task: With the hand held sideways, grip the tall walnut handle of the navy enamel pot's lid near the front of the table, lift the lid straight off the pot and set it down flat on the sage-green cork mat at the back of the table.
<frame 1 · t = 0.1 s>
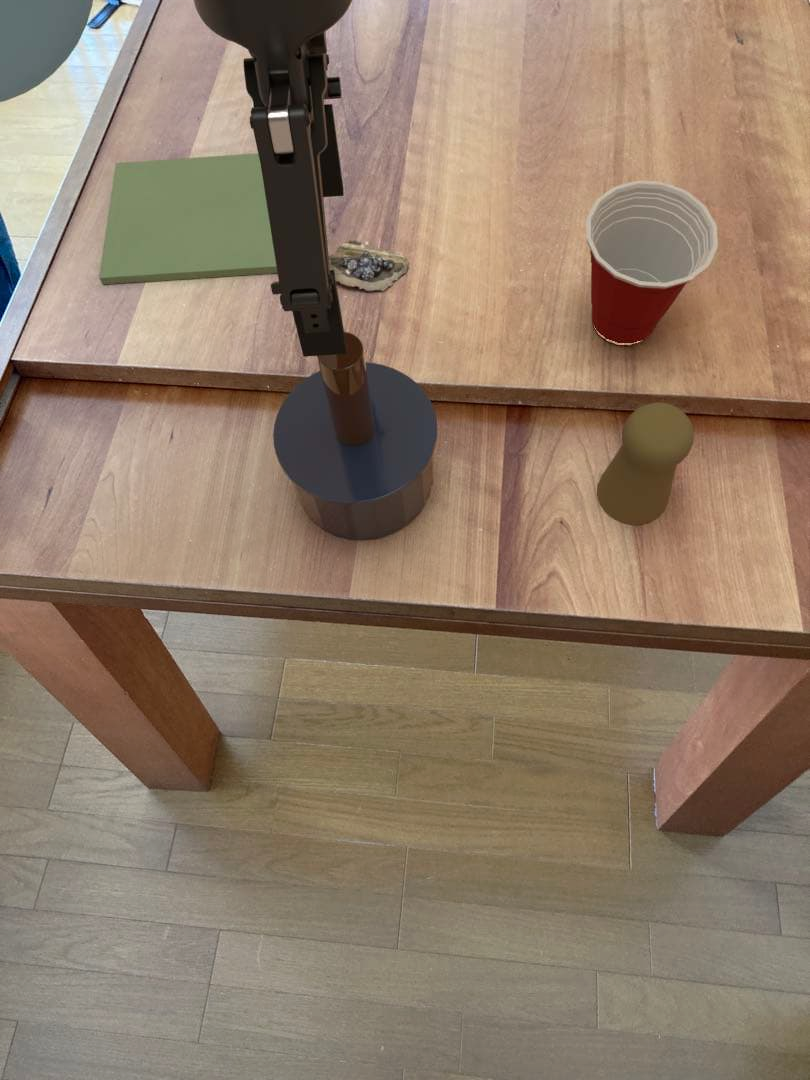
hand: (324, 268, 54), 21 cm above the table, tool pointing down, fingers open, 13 cm apart
plastic cup: (623, 325, 78), on the table
pepper shaker: (631, 494, 70), on the table
lid: (355, 433, 65), point 7 cm above the table, touching pot
pot: (364, 478, 72), on the table
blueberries: (369, 268, 82), on the table
mat: (196, 219, 86), on the table
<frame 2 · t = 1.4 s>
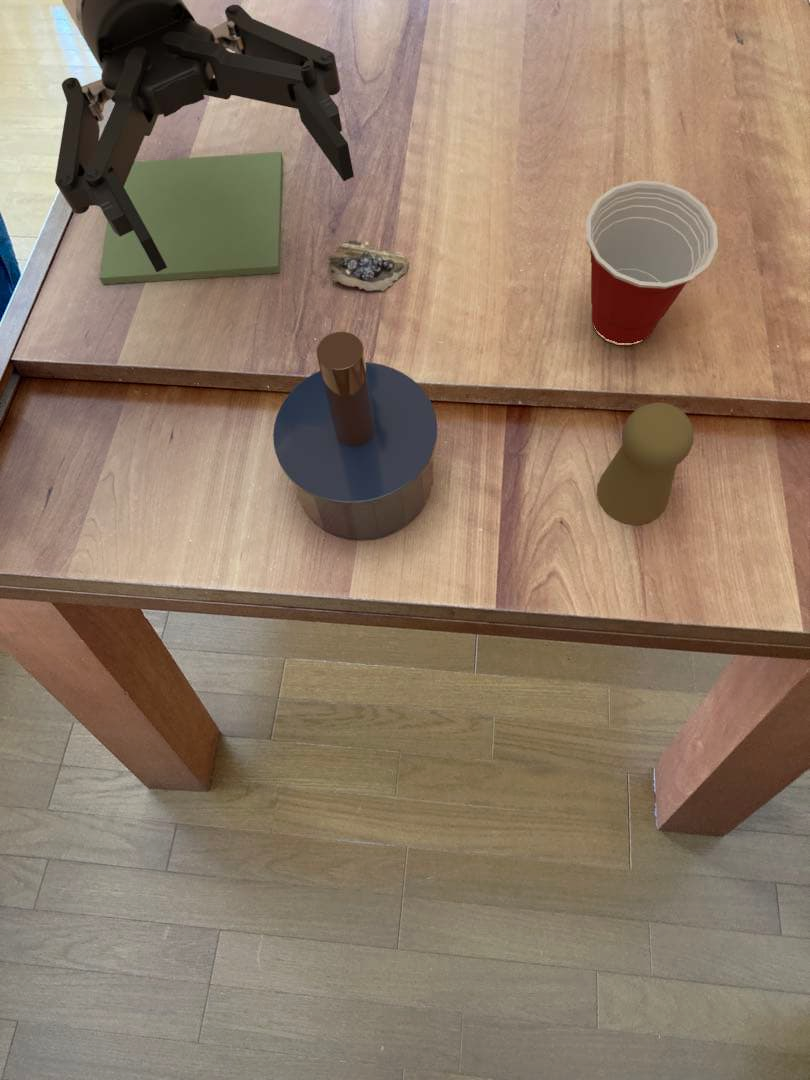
hand: (251, 208, 52), 25 cm above the table, tool horizontal, fingers open, 13 cm apart
nothing on the table moved.
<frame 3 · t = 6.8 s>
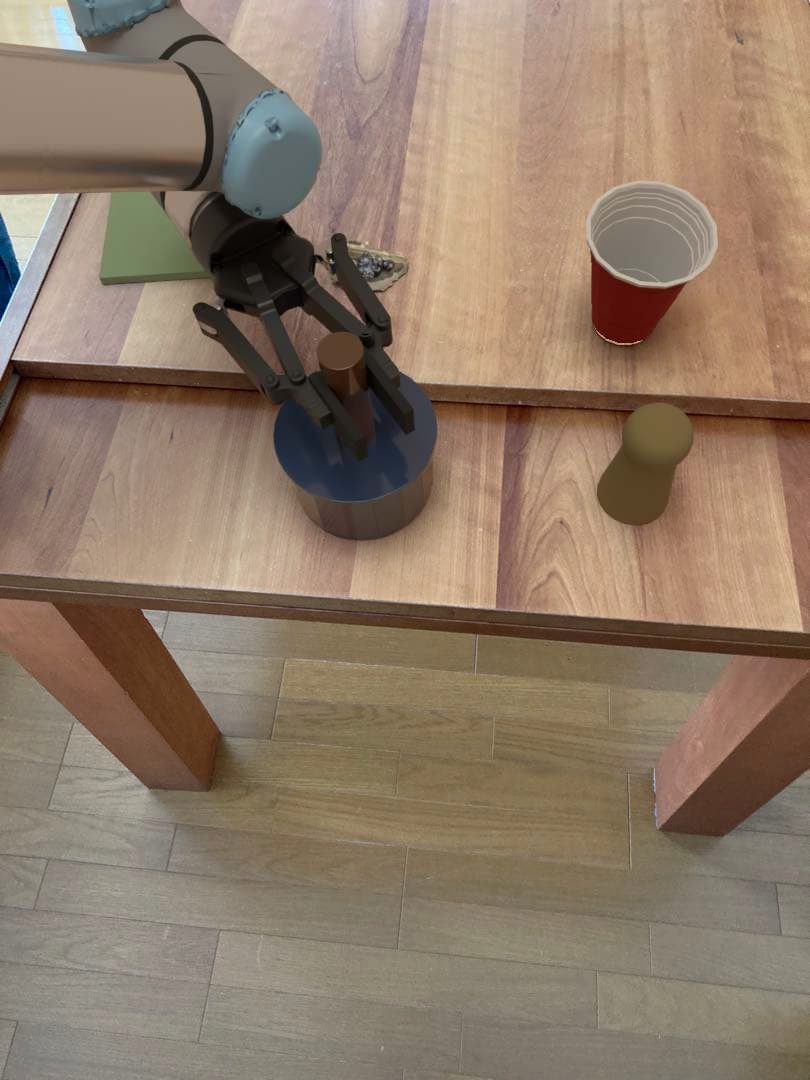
hand: (385, 435, 57), 14 cm above the table, tool horizontal, fingers closed on lid, 3 cm apart
lid: (355, 433, 65), point 7 cm above the table, touching gripper, pot
everything else where it was.
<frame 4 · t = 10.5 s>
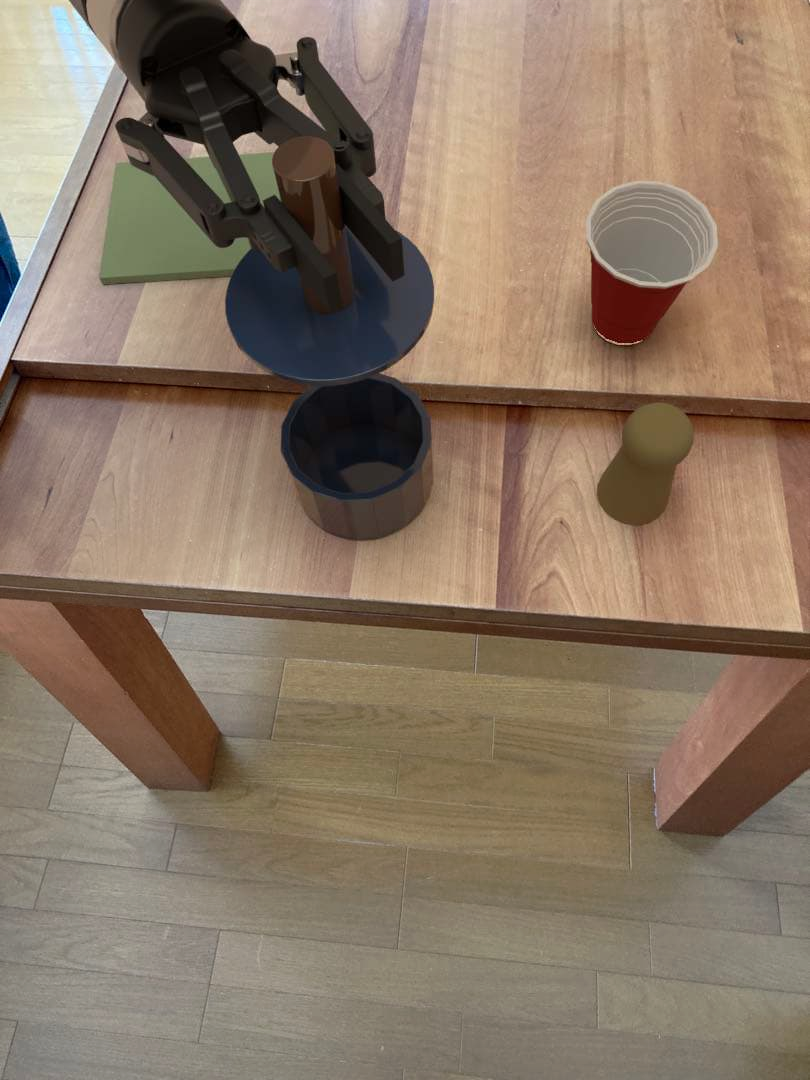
hand: (365, 276, 43), 30 cm above the table, tool horizontal, fingers closed on lid, 3 cm apart
lid: (330, 299, 51), point 23 cm above the table, touching gripper
everything else where it was.
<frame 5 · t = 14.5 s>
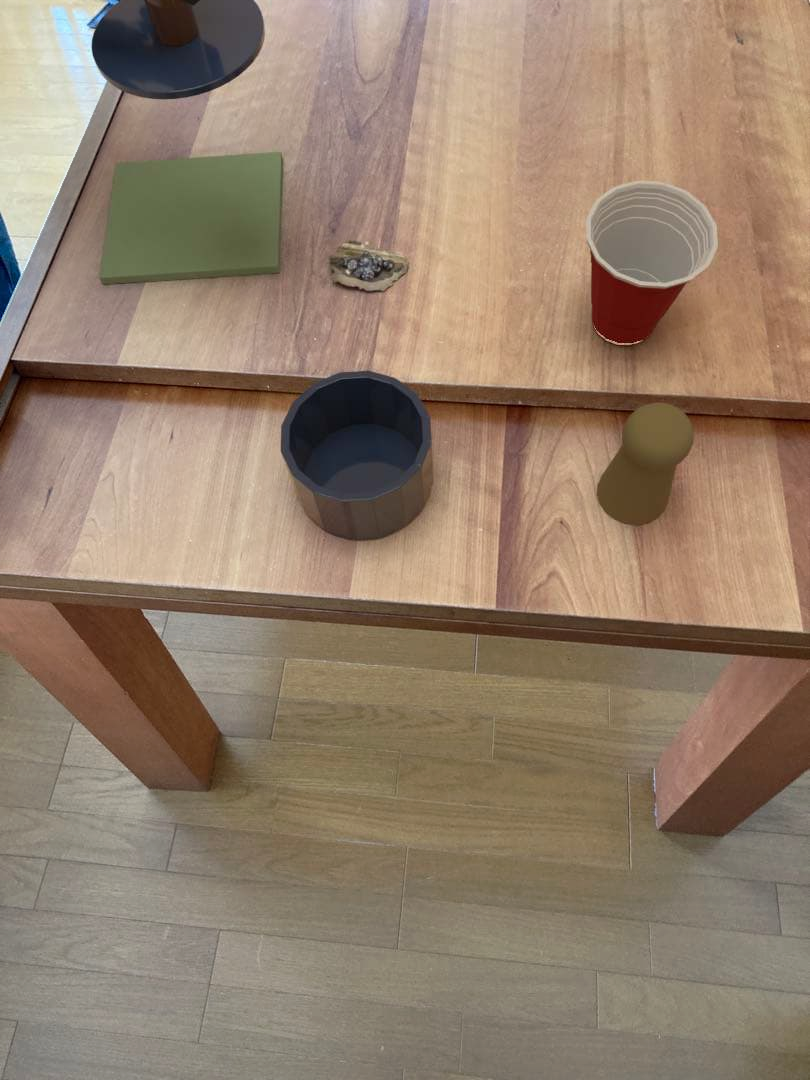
lid: (179, 40, 62), point 23 cm above the table, touching gripper
everything else where it was.
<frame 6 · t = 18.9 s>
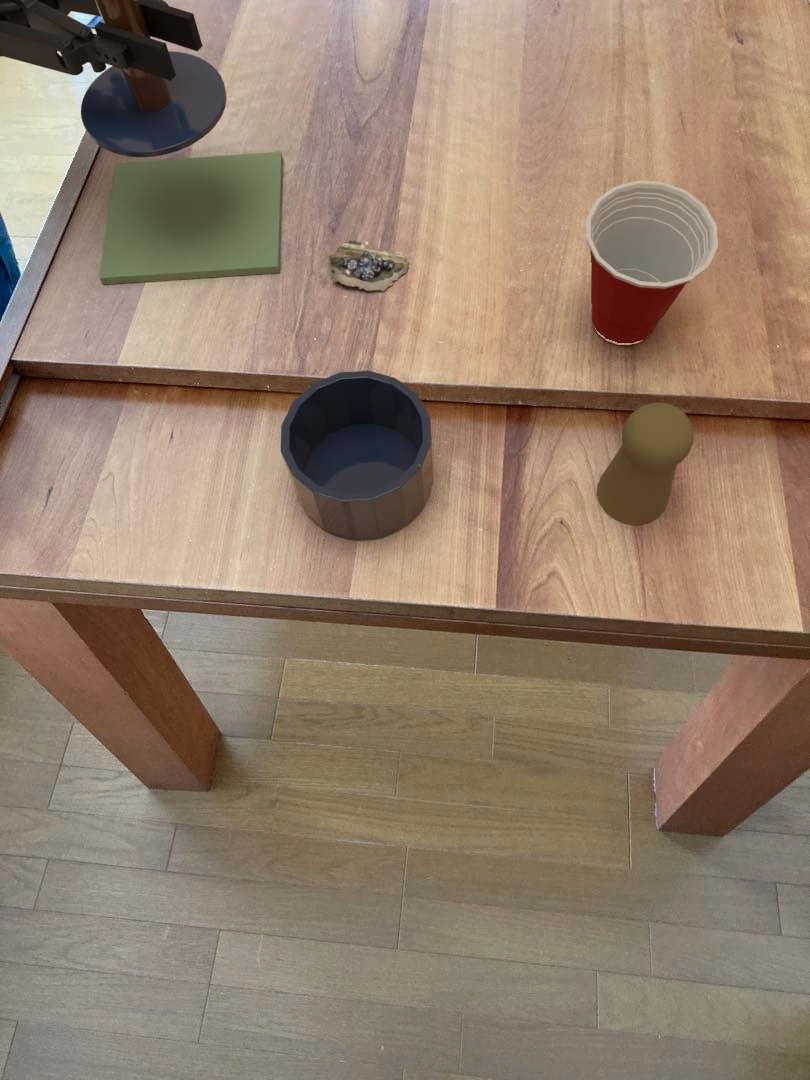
hand: (181, 47, 66), 20 cm above the table, tool horizontal, fingers closed on lid, 3 cm apart
lid: (155, 105, 74), point 13 cm above the table, touching gripper
everything else where it was.
when the fingers open (9 cm above the table, at t = 22.2 s): lid stays where it is, resting on mat.
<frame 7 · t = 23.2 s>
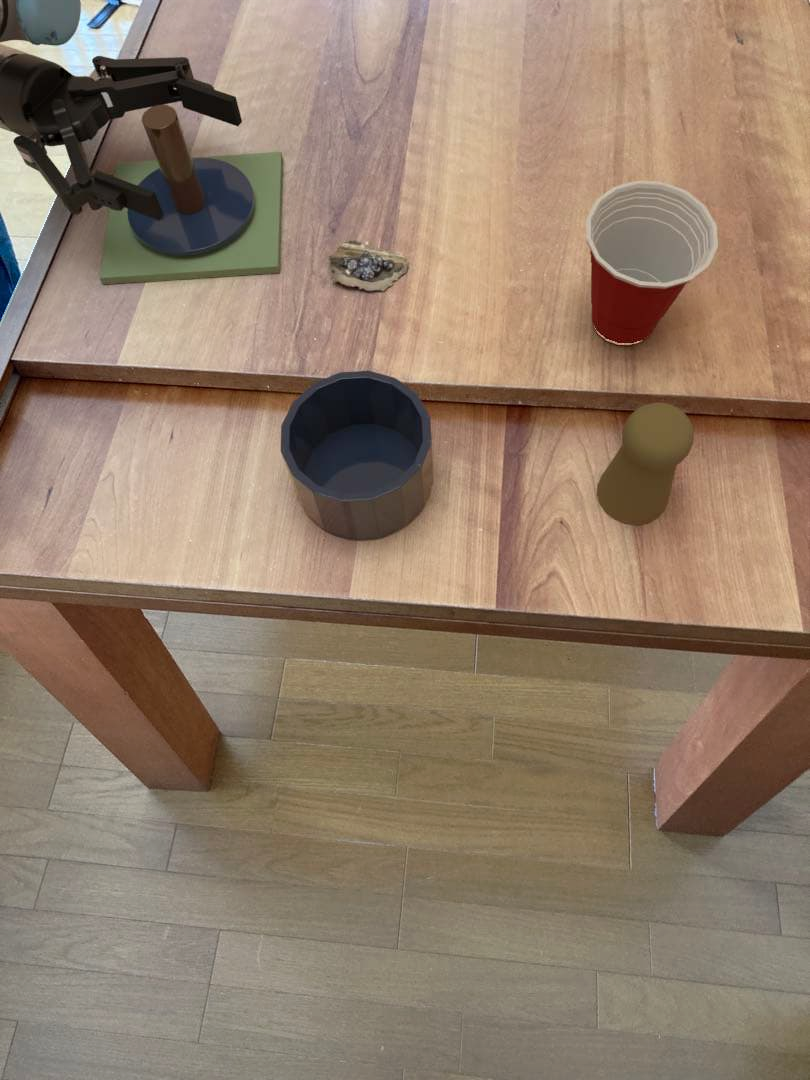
hand: (198, 157, 77), 9 cm above the table, tool horizontal, fingers open, 13 cm apart
lid: (192, 207, 84), point 2 cm above the table, touching mat
everything else where it was.
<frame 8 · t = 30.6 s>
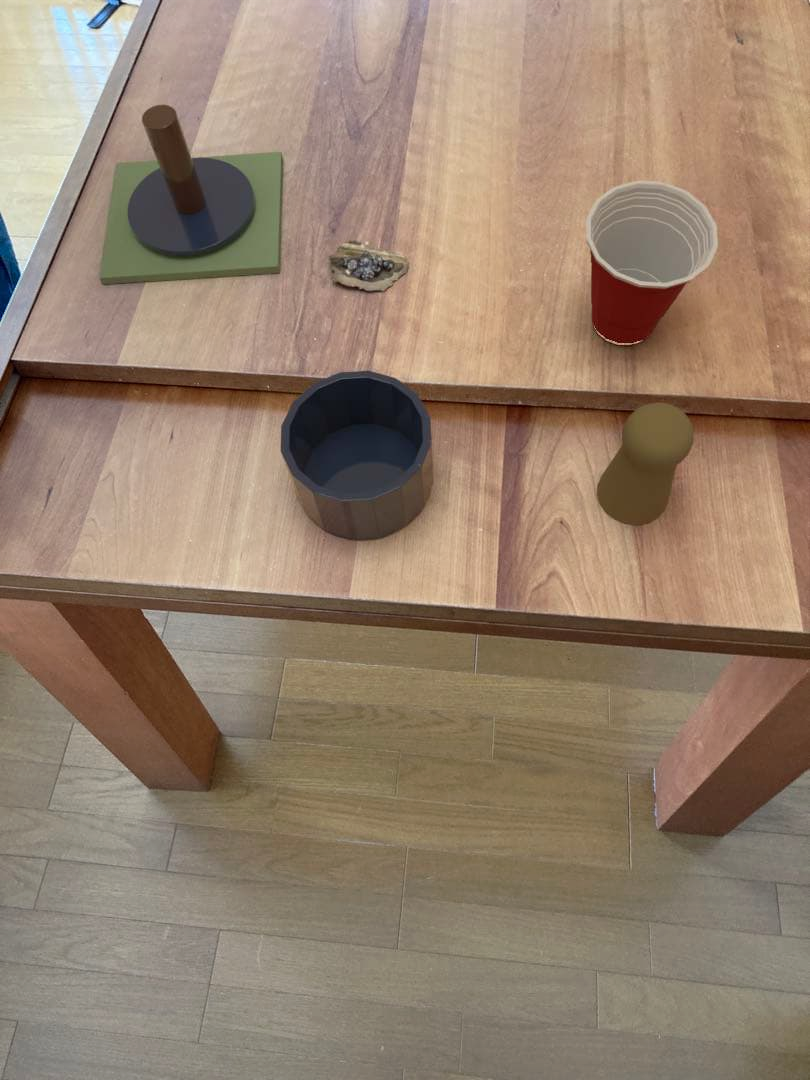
nothing on the table moved.
at the end: lid inside the target area on the mat (0.0 cm from its centre), point 1.6 cm above the mat's base; lid tilted 0°; the gripper is holding nothing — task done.
